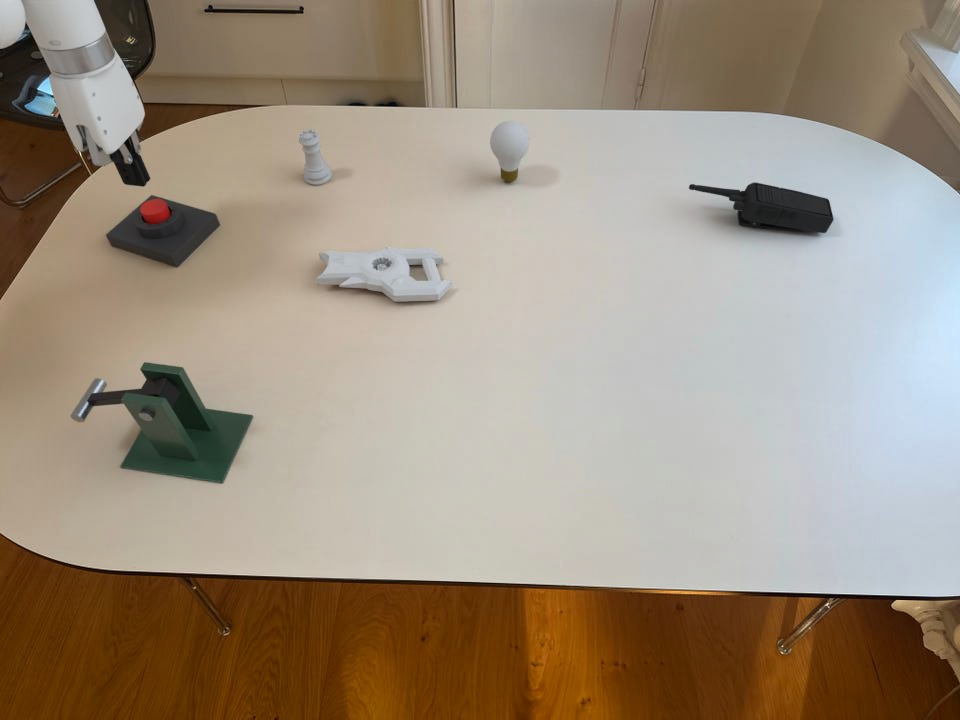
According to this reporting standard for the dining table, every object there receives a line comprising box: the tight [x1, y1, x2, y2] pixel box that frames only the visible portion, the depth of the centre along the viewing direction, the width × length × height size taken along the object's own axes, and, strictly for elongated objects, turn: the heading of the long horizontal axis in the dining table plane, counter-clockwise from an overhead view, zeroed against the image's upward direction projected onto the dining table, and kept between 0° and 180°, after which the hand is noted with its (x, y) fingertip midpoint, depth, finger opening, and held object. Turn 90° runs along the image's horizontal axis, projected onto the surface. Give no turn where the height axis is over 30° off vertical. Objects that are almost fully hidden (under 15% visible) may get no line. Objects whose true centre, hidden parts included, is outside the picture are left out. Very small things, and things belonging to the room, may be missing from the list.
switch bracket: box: [120, 361, 254, 484], centre depth 76 cm, size 12×9×12 cm
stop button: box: [140, 199, 170, 224], centre depth 101 cm, size 4×4×2 cm
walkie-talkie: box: [688, 182, 835, 234], centre depth 101 cm, size 6×6×20 cm
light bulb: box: [489, 120, 530, 183], centre depth 107 cm, size 6×6×10 cm
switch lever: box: [69, 377, 181, 423], centre depth 75 cm, size 12×5×2 cm, turn 80°
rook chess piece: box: [298, 128, 333, 186], centre depth 109 cm, size 4×4×8 cm
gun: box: [315, 245, 453, 303], centre depth 96 cm, size 18×3×10 cm
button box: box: [105, 194, 221, 268], centre depth 103 cm, size 12×10×4 cm
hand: (137, 182), depth 96 cm, fingers closed
